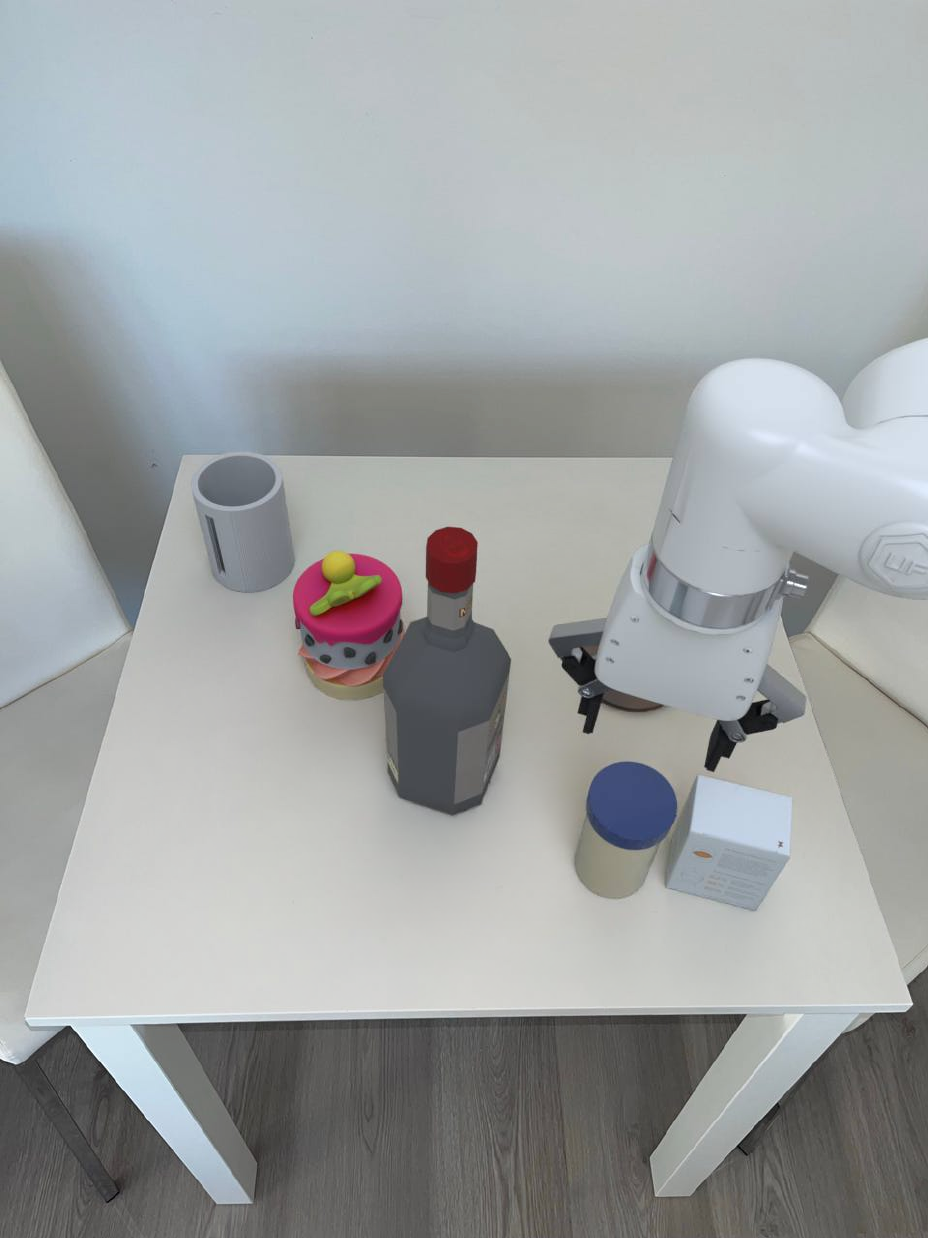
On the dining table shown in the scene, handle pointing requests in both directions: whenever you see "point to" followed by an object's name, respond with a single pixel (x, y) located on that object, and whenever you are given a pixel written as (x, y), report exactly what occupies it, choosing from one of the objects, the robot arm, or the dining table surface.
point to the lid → (631, 805)
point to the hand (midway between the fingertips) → (651, 735)
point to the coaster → (624, 695)
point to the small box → (730, 842)
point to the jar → (610, 865)
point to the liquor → (446, 688)
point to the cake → (348, 623)
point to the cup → (244, 520)
